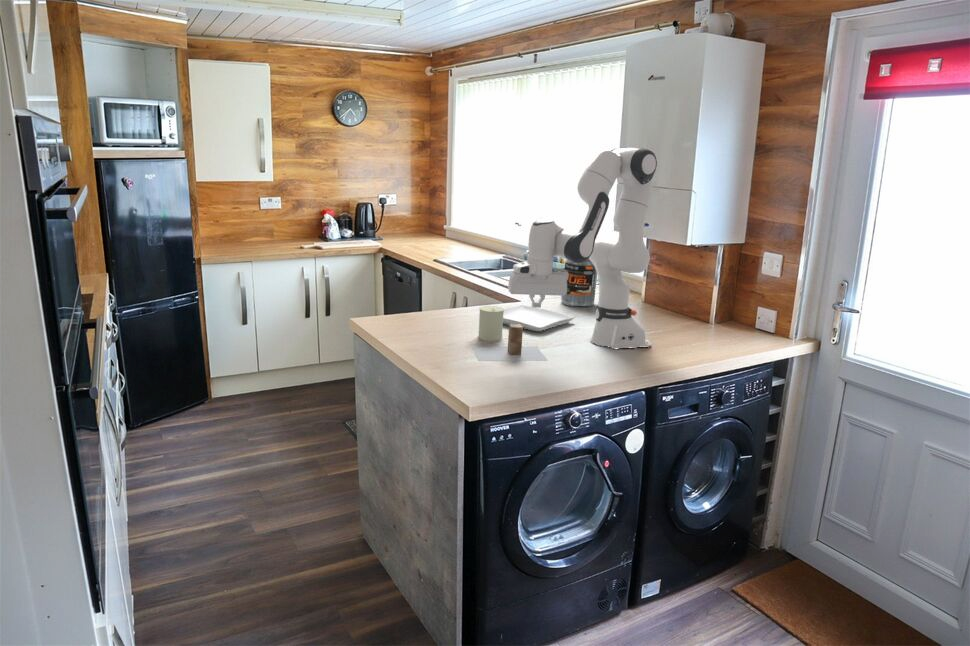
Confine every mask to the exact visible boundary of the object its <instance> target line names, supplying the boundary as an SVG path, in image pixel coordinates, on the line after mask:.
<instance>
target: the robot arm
mask: <svg viewBox="0 0 970 646" xmlns="http://www.w3.org/2000/svg"><path fill="white" fill-rule="evenodd" d="M589 162H590V163H589V164H588V165H587V167H586V168H585V170H584V172H583V173H582V175H581V177H580V179H579V180H578V183H577V193H578V195H579V197H580V199H581V200H582V201H583V202H584V203H586V204H587V205H588V211H587V213H586V215H585V218H584V221H583V222H582V225H581V227H580V229H579V230H577V231H574V230H568V229H565V228H563V227H561V226H559V225H557V223H556V222H555V221H554V220H553V219H550V218H549V219H547V218H546V219H545V218H544V219H538V220H535V221H534V222H532V224H531V227H530V231H529V235H528V243H527V244H528V245H527V247H528V253H527V254H528V255H527V259H526V260H525V261H522V262H518V263H515V264H513V266H512V269H513V272H511V274H510V276H509V280H508V285H507V290H508V293H510V294H511V295H529V296H528V297H529V299H530V302H531V307H535V308H541V309H542V307H541V306H542V303H543V302H544V300H545V299H546V296H560V297H561V296H564V295H565V294H566V293H567V280H568V271H567V270H565V269H564V268H559V267H558V268H557V267H556V268H555V267H554V257H557V258H560V259H563V260H565V259H567V260H570V261H572V262H575V263H583V262H585V261H586V260H587V259H588V258H589V259H590V261H591V262H592V263H593V265H594V267H595V269H596V272H597V279H598V285H599V286H598V302H597V305H596V310H595V324H594V327H593V333H592V335H591V337H590V340H589V341H590V342H591V343H592V344H594V343H595V345H596V344H598V345H597V346H600V345H602V346H601V347H604V346H609V347H613V348H629V347H640V346H641V347H642V346H650V345H651V342H650V340H649V339H647V338H646V332H645V328H644V327H643V326H642V325H641V324H640V323H639V322H638V321H637V320H636V319H634V318H633V317H632V316H634V317H635V316H636V315H637V311H636V310H635V309H633V308H631V307H629V298H630V291H631V289H630V285H629V283H627V282H626V280H625V279H624V276H623V275H622V274H623V273H626V274H638V273H642V272H644V271H645V270H646V269H647V268H648V266H649V265H650V260H651V257H650V255H651V254H650V251H649V250H648V248H647V246H646V244H645V240H644V233H643V231H644V225H645V221H646V216H647V214H648V210H649V207H650V205H651V201H652V200H651V198H652V193H653V185H654V184H653V177H654V175H655V173H656V170H657V166H658V165H657V164H658V161H657V157H656V154H655V153H654V152H653V151H652V150H650V149H647V148H643V147H642V148H639V147H638V148H637V147H626V148H614V149H603V150H600V151H598V153H596V155H595V156H594V157H593V159H592V160H591V161H589ZM617 179H618V180H623V181H622V182H623V188H622V190H621V193H620V196H619V198H618V201H617V205H616V209H615V212H614V216H613V224H614V225H615V227H616V228H617V229H618V239H615V238H610V237H602V238H601V237H600V238H598V237H597V236H598V234H599V232H600V229H601V228H602V227H601V226H602V225H603V222H604V220H605V219H606V215H607V212H608V209H609V206H610V197H609V195H610V192H611V190H612V188H613V186H614V184H615V182H616V180H617ZM565 271H566V272H565ZM536 296H539V297H540V298H539V300H538V301H535V297H536ZM648 343H649V344H648ZM651 346H652V345H651ZM651 346H650V347H651ZM609 347H608V348H609ZM613 348H612V349H613Z"/></svg>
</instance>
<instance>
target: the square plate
mask: <svg viewBox="0 0 970 646" xmlns="http://www.w3.org/2000/svg"><path fill="white" fill-rule="evenodd" d="M503 309H504V313H503V325H505V324H506V326H509V324H521V326H522V327H523V328H524V329H523V330H526V329H528V330H527V331H530V330H533V331H532V332H543V331H542V330H544V331H546V329H547V330H550V329H553V328H555V327H558V325H559V326H561V325H564V324H568V323H569V322H571V321H573V320H574V319H575V318H576V316H574V315H570V314H569V315H568V314H566V313H561V312H557V311H553V310H549V309H545V308H542V307H541V308H537V307H532V306H528V305H524V304H522V305H515V306H511V307H508V308H503ZM552 327H553V328H552ZM549 328H550V329H549Z"/></svg>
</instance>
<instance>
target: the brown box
mask: <svg viewBox="0 0 970 646" xmlns="http://www.w3.org/2000/svg"><path fill="white" fill-rule="evenodd" d="M523 331H524V329H523V327H522V326H521V324H509V325H508V339H507V347H508V353H509V355H521V349H522V347H523V333H524V332H523Z"/></svg>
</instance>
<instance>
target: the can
mask: <svg viewBox="0 0 970 646" xmlns="http://www.w3.org/2000/svg"><path fill="white" fill-rule="evenodd" d="M504 309H505V308H503V307H501V306H498V305H497V306H496V305H483V306H481V307H479V315H478V316H479V321H478V336H477V338H478V339H480V340H482V341H486V342H487V341H488V342H495V341H496V342H497V341H502V339H503V327H504V324H503V313H504Z"/></svg>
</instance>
